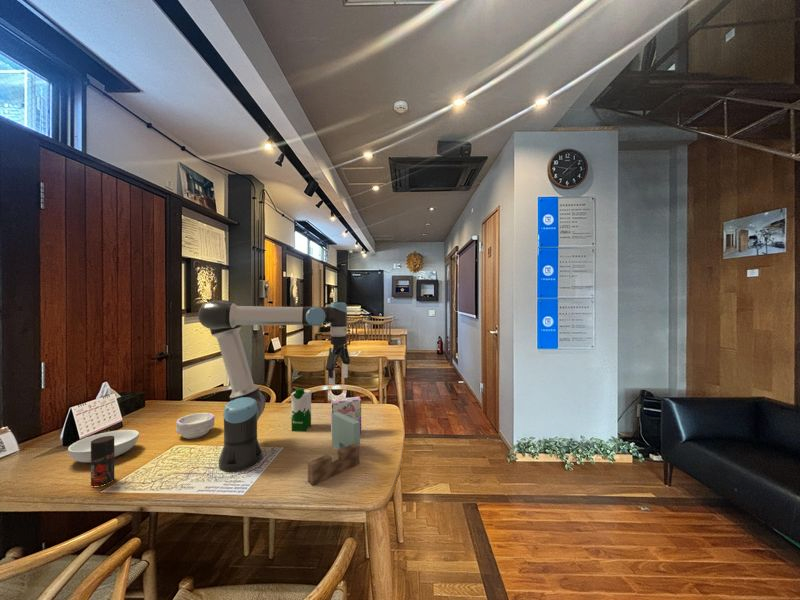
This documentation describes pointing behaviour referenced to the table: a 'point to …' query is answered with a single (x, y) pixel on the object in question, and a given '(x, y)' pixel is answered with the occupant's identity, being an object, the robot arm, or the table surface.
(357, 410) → the candy box
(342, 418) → the pale green slab
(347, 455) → the walnut board
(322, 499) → the table surface
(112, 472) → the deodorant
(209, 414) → the paper bowls
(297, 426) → the milk carton
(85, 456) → the serving bowl
